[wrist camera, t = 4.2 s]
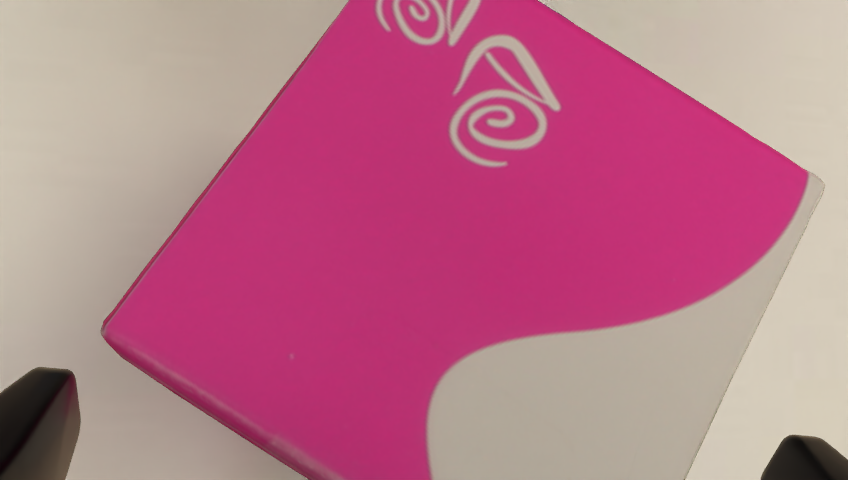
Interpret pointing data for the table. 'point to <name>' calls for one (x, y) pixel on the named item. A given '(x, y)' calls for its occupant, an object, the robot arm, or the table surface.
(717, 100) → the table surface
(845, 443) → the table surface
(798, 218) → the supplement box
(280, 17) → the table surface
